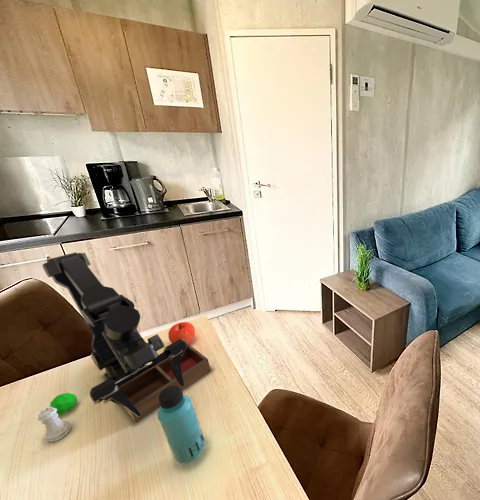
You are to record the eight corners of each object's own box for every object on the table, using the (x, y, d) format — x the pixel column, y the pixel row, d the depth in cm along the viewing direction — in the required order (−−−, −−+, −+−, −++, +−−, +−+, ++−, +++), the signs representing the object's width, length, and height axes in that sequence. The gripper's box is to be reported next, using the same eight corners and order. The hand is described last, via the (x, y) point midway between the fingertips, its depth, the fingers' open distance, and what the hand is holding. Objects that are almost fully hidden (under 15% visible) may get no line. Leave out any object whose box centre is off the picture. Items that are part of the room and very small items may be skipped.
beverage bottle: (194, 472, 62) (171, 410, 54) (168, 465, 63) (141, 403, 55) (213, 442, 68) (194, 382, 60) (188, 436, 69) (167, 376, 61)
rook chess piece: (76, 428, 71) (63, 406, 68) (54, 445, 67) (39, 423, 64) (64, 422, 72) (51, 400, 69) (42, 439, 68) (27, 417, 65)
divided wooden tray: (119, 401, 78) (113, 389, 76) (192, 356, 93) (189, 344, 91) (136, 423, 72) (130, 410, 70) (211, 370, 87) (207, 358, 85)
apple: (179, 334, 102) (174, 316, 99) (201, 334, 102) (196, 316, 99) (165, 350, 95) (159, 331, 92) (189, 350, 95) (183, 331, 92)
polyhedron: (54, 408, 76) (46, 396, 74) (79, 397, 79) (72, 385, 77) (54, 421, 72) (46, 409, 70) (79, 409, 75) (72, 397, 73)
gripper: (72, 360, 53) (115, 432, 52) (175, 311, 67) (210, 366, 66) (75, 372, 60) (112, 435, 59) (167, 325, 74) (199, 375, 73)
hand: (162, 400), depth 64 cm, fingers open, 9 cm apart
